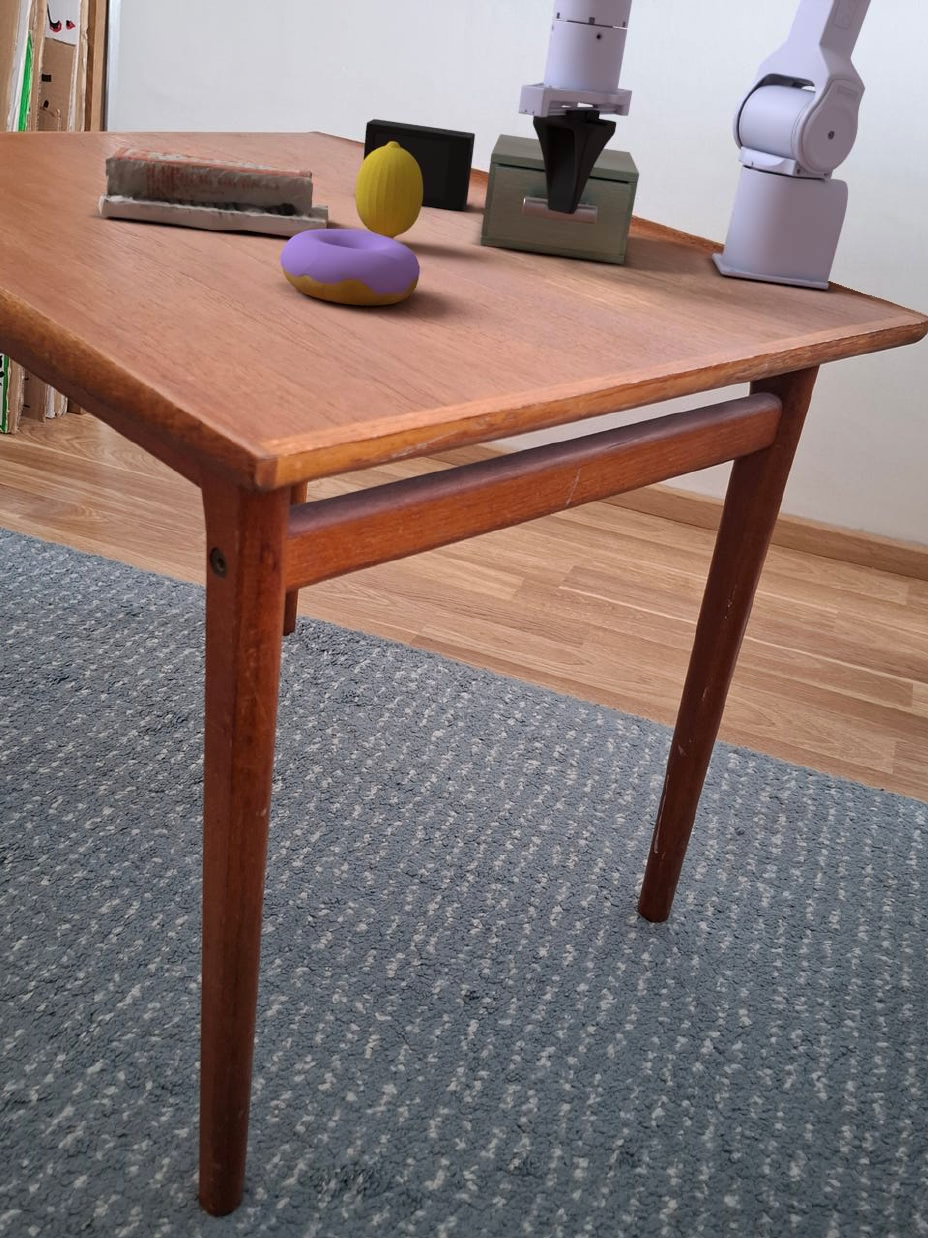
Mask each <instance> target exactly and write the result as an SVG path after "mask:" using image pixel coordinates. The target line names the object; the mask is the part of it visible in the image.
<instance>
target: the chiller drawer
mask: <svg viewBox="0 0 928 1238" xmlns="http://www.w3.org/2000/svg"><path fill="white" fill-rule="evenodd" d="M630 189H631V185H630V184H629V183H622V182H621V181H619V180H612V179H605V178H597V177H590V176H589V178H588V180H587V183H586V185H585V188H584V191H583V193H582V196H581V198H580V201H579V203H578V206H577V208H576V210H575V212H574V214H565V213H561V212H556V211H552V210H549V209H548V200H547V187H546V175H545V170H540V169H533V168H526V167H519V166H512V165H506V166H501V165H497V167H496V174H495V182H494V190H493V197H492V205H491V213H490V221H489V229H488V238H495V239H502V240H509V241H516V242H524V243H531V244H538V245H545V246H552V247H559V248H566V249H573V250H580V251H588V252H595V253H602V254H609V255H616V256H618V255H619V251H620V245H621V240H622V234H623V229H624V223H625V217H626V212H627V206H628V201H629V195H630Z"/></svg>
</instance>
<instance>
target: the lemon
mask: <svg viewBox="0 0 928 1238" xmlns="http://www.w3.org/2000/svg"><path fill="white" fill-rule="evenodd" d="M354 197H355V206H356V211H357V212H356V213H357V215H358V217H359V219H360V221H361V223H362V224H363V225H364V227H366V229H368V231H370V232H374V233H377V234H380V235H383V236H386V237H389V238H392V239H395V237H397V236H400V235H403V234H404V233H406V232H407V231H409V230H410V229H412V227H413V226H414V224H415V223H416V222H417V220H418V218H419V215H420V213H421V210H422V206H423V205H422V199H423V181H422V175H421V171H420V168H419V165H418V163H417V162H416V160H415V159H414V158H413V156H412V155H411V154H410V153H408V152H407V151H406V150H404V149H402V148H401V147H400V146H399V144H398V143H397V142H389V143H388V144H387V145H386V146H383V147H380V148H378V149H376V150H374V151H373V152H372V153H370V154H369V155H368V156H367V157H366V159H365V160H364V159H363V161H362V163H361V165H360V168H359V170H358V174H357V178H356V182H355V190H354Z"/></svg>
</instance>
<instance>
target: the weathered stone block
mask: <svg viewBox="0 0 928 1238" xmlns="http://www.w3.org/2000/svg"><path fill="white" fill-rule="evenodd" d="M104 161H105V169H104V173H105V178H106V179H105V180H106V186H105V192H104V194H103V195H102V194H101V195H100V197H99V201H98V205H97V207H98V210H99V214H100V216H103V217H109V218H110V217H111V218H116V219H125V220H133V221H140V222H147V223H148V222H149V223H156V224H163V225H164V224H165V225H173V226H180V227H188V228H197V229H203V230H211V231H250V232H257V233H263V234H264V233H265V234H269V235H275V236H276V235H277V236H283V237H290V238H292V237H293V236H294V235H296V234H298V233H301V232H304V231H308V230H318V229H328V228H327V225H328V222H329V205H323V204H317V205H313V192H314V191H313V190H314V183H313V181H312V180H313V172H312V171H311V170H306V169H290V168H280V167H276V166H269V165H265V164H264V165H263V164H256V163H250V162H248V161H244V162H242V161H234V160H225V159H215V158H210V157H202V156H193V155H188V154H181V153H173V152H172V153H171V152H164V151H157V150H150V149H149V150H148V149H142V148H140V149H139V148H133V147H126V146H121V147H119V148H118V149H117V150H115V151H114V152H113V153H112V154H111V155H109V156H108V157H107V158H106V159H104Z"/></svg>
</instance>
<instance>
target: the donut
mask: <svg viewBox="0 0 928 1238" xmlns="http://www.w3.org/2000/svg"><path fill="white" fill-rule="evenodd" d="M280 266H281V267H282V272H283V274H284V276H285V278H286V280H287V281H288V282H289V283H290V284H291V286H292V287H294V288H295V289H297V290H298V291H299V292H301V293H303V294H305V295H307V296H310V297H312V298H315V299H319V300H322V301H327V302H331V303H337V304H342V305H355V306H386V305H392V304H393V305H394V304H397V303H399V302H401V301H404V300H405V299H407V298H408V297H410V295H412V293H413V292H414V291H415V290H416V288H417V286H418V283H419V278H420V273H421V266H420V263H419V260H418V258H417V256H416V255H415V253H414V252H413V251H412V250H411V249H410V248H409V247H408V246H406V245H404V244H403V243H401V242H399V241H397V240H396V239H395V238H393V239H392V238H389V237H386V236H383V235H380V234H377V233H374V232H372V231H370V230H362V229H357V228H326V229H318V230H308V231H304V232H301V233H298V234H296V235H294V236H293V237H290V239H289V240H287V241H286V242H285V244H284V246H283V247H282V250H281V253H280Z"/></svg>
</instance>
